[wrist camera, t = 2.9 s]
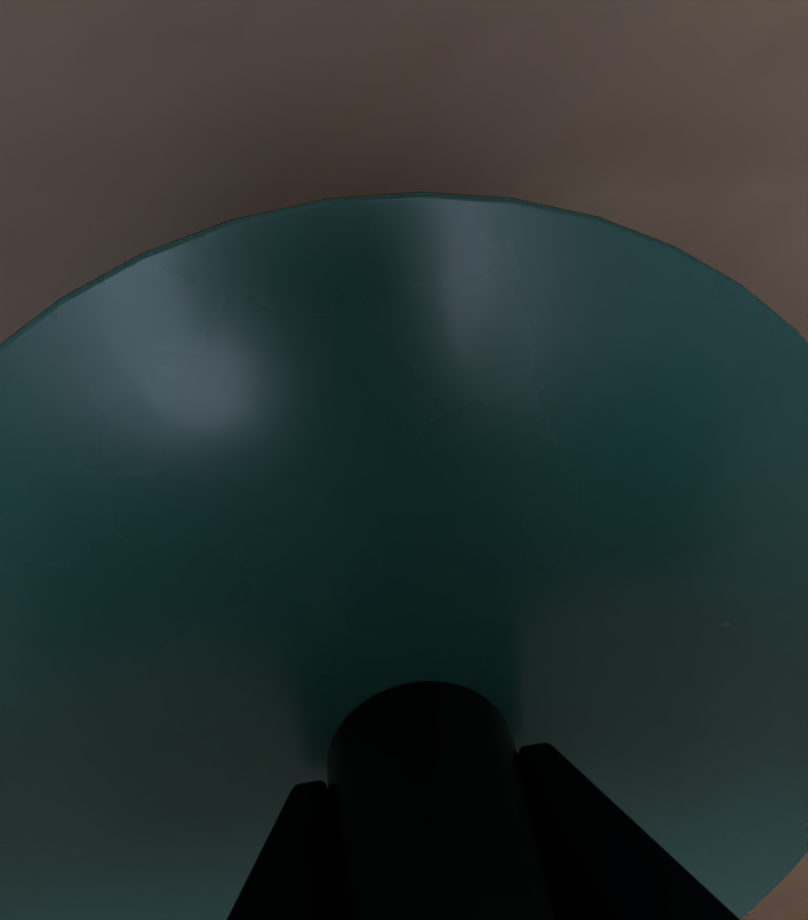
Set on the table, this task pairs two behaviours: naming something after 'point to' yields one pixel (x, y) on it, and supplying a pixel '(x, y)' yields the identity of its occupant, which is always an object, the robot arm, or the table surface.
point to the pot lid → (398, 562)
